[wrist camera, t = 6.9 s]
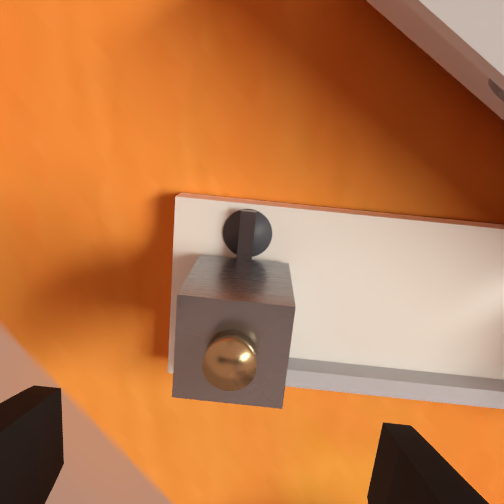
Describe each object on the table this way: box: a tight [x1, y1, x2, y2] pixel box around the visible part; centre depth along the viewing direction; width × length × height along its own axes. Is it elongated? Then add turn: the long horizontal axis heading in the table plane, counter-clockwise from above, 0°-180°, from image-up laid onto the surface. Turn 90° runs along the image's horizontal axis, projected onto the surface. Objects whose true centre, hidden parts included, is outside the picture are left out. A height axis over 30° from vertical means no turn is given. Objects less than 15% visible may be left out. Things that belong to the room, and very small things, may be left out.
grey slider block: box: [172, 209, 296, 409], centre depth 15 cm, size 4×7×5 cm, turn 174°
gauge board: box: [168, 192, 504, 409], centre depth 16 cm, size 22×8×6 cm, turn 85°
